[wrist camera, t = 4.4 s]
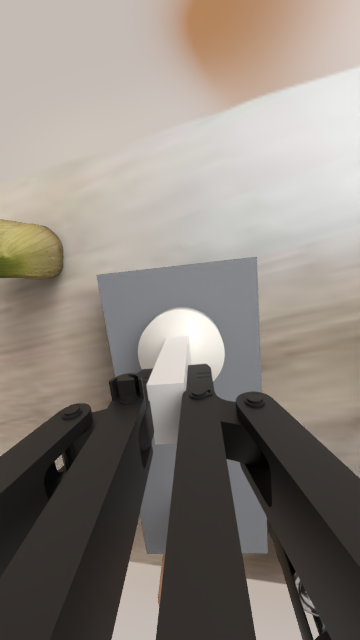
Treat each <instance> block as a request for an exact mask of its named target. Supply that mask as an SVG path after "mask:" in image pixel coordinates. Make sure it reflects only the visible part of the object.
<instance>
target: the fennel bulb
mask: <svg viewBox="0 0 360 640" xmlns="http://www.w3.org/2000/svg"><path fill="white" fill-rule="evenodd" d="M62 267H63V246H62V243H61V241H60V239H59V238H58V236H57V235H56V234H55V233H54V232H53V231H52V230H50V229H49V228H47V227H45V226H39V225H36V224H26V223H21V222H16V221H8V220H3V219H0V278H27V279H47V278H52V277H54V276H57V275H58V274H59V273H60V272H61V270H62Z"/></svg>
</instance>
